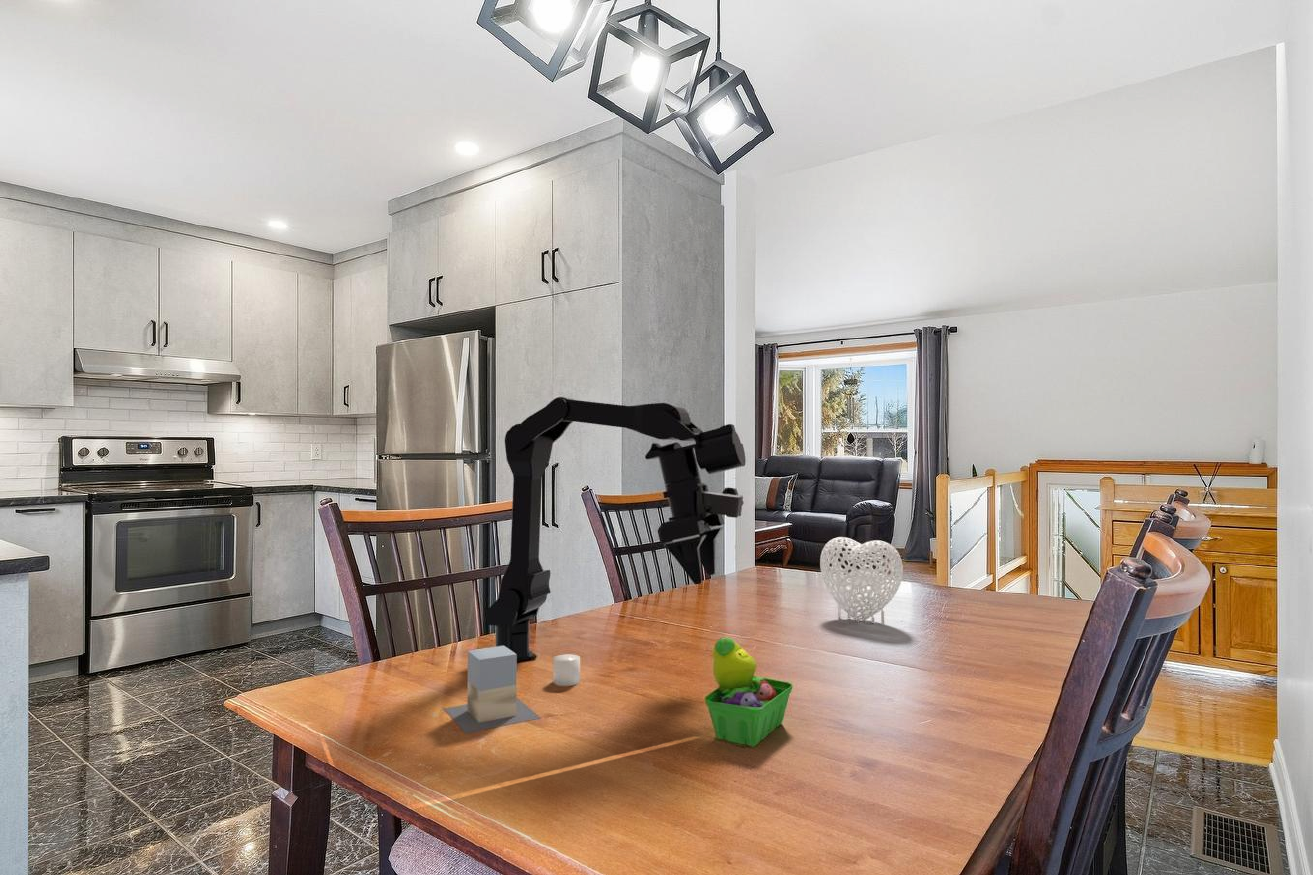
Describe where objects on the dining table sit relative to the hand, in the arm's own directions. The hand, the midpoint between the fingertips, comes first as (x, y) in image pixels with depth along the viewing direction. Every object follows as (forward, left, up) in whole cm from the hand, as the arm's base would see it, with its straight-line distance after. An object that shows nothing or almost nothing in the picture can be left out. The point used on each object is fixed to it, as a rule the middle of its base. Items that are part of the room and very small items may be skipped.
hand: (705, 579), depth 112 cm
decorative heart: (-14, +49, -16) cm, 54 cm away
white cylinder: (-8, -20, -15) cm, 26 cm away
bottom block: (-1, -34, -15) cm, 37 cm away
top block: (-1, -34, -11) cm, 35 cm away
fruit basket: (+20, -8, -16) cm, 26 cm away
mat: (-1, -34, -15) cm, 37 cm away
